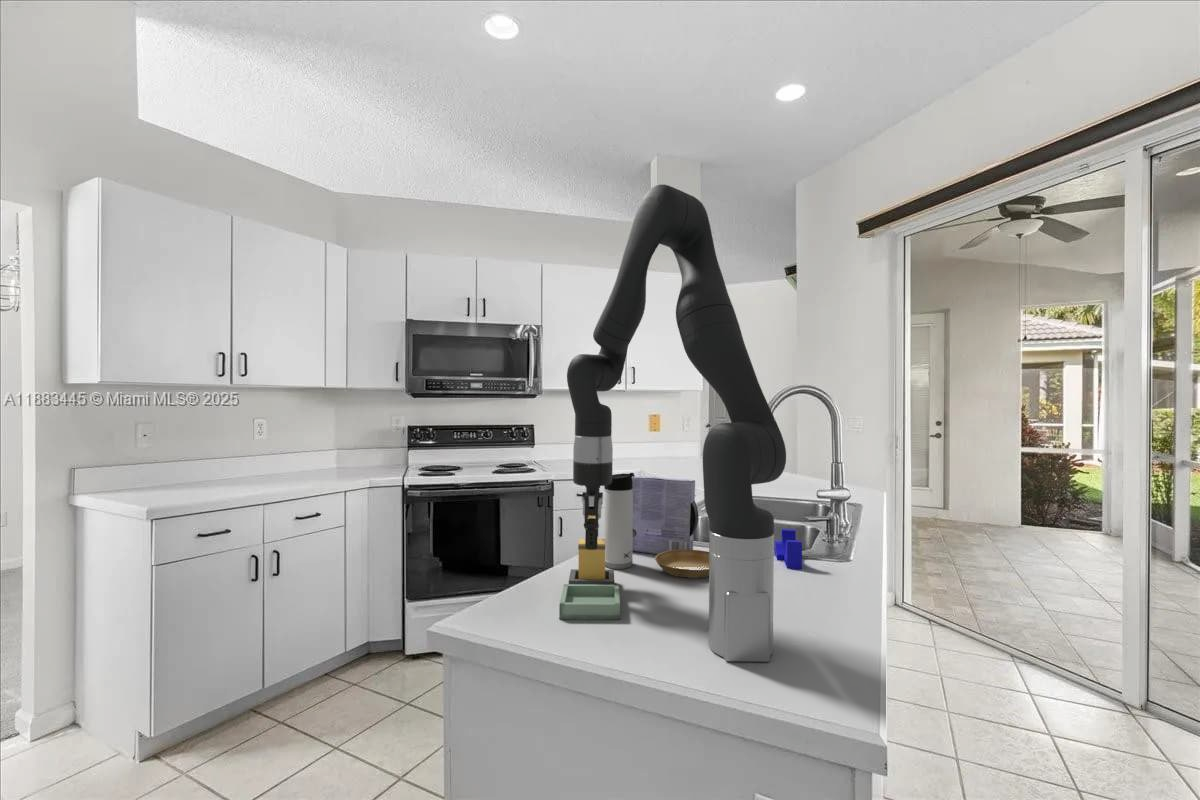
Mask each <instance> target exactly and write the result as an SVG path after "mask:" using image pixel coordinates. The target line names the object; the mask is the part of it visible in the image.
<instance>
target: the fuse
mask: <svg viewBox="0 0 1200 800" xmlns="http://www.w3.org/2000/svg"><path fill="white" fill-rule="evenodd" d="M577 549H578V569H579V579H605V570H606V566H605V539H604V538H603V539H602V538H601V539H600V538H597V549H596V550H587V549H586V548H585V538H580V539H578V547H577Z"/></svg>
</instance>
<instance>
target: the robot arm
mask: <svg viewBox="0 0 1200 800" xmlns="http://www.w3.org/2000/svg"><path fill="white" fill-rule="evenodd" d="M638 205H639V206H638V208H637V210H636V213H635V215H634V219H633V222H632V225H631V229H630V233H629V236H628V240H627V242H626V244H625V245H626V246H625V247H624V248H625V249H624V251H623V255H622V259H621V263H620V266H619V270H618V272H617V276H616V279H615V282H614V285H613V288H612V289H611V293H610V295H609V297H608V299H607V302H606V304H605V305H604V308H603V310H602V313H601V314H600V317H599V318H598V321H597V323H596V326H595V327H594V330H593V333H592V334H593V335H592V336H593V340H594V341H595V343H596V344H597V345H598V346H600V350H599V352H598V354H590V353H583V354H580V353H579V354H577V355H575V356H574V357H573V358H572V359H571V361H570V363H569V364H568V366H567V371H566V372H567V373H566V382H567V387H568V390H569V395H570V399H571V403H572V408H573V411H574V440H573V441H574V442H573V451H572V452H573V453H572V454H573V457H572V458H573V459H572V460H573V462H572V463H573V465H572V468H573V469H572V470H573V471H572V472H573V474H572V482H573V483H574V484H575V485H577V486H584V487H585V489H586V490H585V491H583V492H582V495H581V504H582V518H583V519H584V523H583V527H584V530H585V538H584V539H585V548H586V549H587V550H596V549H597V539H598V537H599V528H600V523H599V520H600V519H601V518H602V507H603V506H602V505H604V491H603V492H601V491H600V489H601V486H602V487H604V486H606V485H609V484H611V483H612V475H613V461H614V459H613V458H614V457H613V455H614V453H613V451H614V450H613V449H614V448H613V437H612V433H613V432H612V429H613V427H612V425H613V423H612V420H613V417H612V410H611V407H610V406H608V405H605V404H603V403H601V402H600V400H599V397H598V396H599V395H598V392H607V391H611V390H612V389H613V388H615V386H616V385H617V384H618V383H619V381H620V379H621V378H622V376H623V371H624V368H625V362H626V361H627V360H626V359H627V354H628V348H629V345H630V344H631V342H632V339H633V337H634V335H635V333H636V332H637V329H638V327H639V325H640V323H641V321H642V319H643V317H644V314H645V309H646V301H647V277H648V276H647V274H648V269H649V265H650V262H651V259H652V258H653V255H654V253H655V252H656V250H657V248H658V246H659V245H661V246H665V247H667V248H670V249H671V251H672V252H673V254H674V257H675V259H676V261H677V264H678V267H679V271H680V276H681V285H680V286H681V287H680V290H679V293H678V297H677V303H676V306H675V319H676V325H677V329H678V332H679V335H680V339H681V342H682V346H683V349H684V351H685V354H686V356H687V358H688V359H689V361H690V362H691V364H692V365H693V367H694V368H695V369H696V370H697V372H699V374H700V375H701V376H702V377H703V379H704V380H705V381H706V382H707V383H708V384H709V385H710V386H711V388H713V390H714V391H715V392H716V394H717V395H718V396H719V399H721V402H722V403H723V404H724V407H725V409H726V411H727V414H728V415H727V416H728V417H729V420H730V422H723V423H722V422H721V423H719V424H716V425H714V426H713V427H712V428H710V430H709V431H708V433H707V434H706V437H705V439H704V443H703V448H702V473H703V474H702V475H703V476H702V477H703V479H702V480H703V493H704V494H703V499H704V507H705V510H706V514H707V517H708V520H709V521H708V522H709V523H708V524H709V530H708V532H709V533H708V535H709V545H708V546H709V548H708V550H709V551H708V552H709V577H708V648H709V649H710V650H711V651H712V652H713V653H714V654H716V655H717V656H720V657H723V659H724V660H725V661H726V662H765V663H766V662H771V656H772V655H773V653H774V575H775V574H774V570H775V569H774V562H775V561H774V559H775V558H774V557H775V520H774V519H775V518H774V515H773V514H772V512H770V511H769V510H766V509H764V508H761V507H758V506H757V505H756V504H755V502H754V498H753V485H759V484H766V483H771V482H774V481H776V480H777V479H779V478H780V476H781V475H782V474H783V472H784V471H785V468H786V464H787V450H786V444H785V441H784V437H783V434H782V432H781V429H780V427H779V425H778V422H777V421H776V419H775V416H774V414H773V411H772V409H771V407H770V406H769V404H768V403H769V402H768V401H767V398H766V397H765V395H764V392H763V390H762V388H761V386H760V382H759V380H758V377H757V374H756V372H755V369H754V366H753V364H752V361H751V358H750V354H749V353H748V349H747V347H746V343H745V341H744V337H743V333H742V331H741V327H740V324H739V320H738V317H737V314H736V311H735V308H734V306H733V303H732V301H731V299H730V295H729V292H728V289H727V286H726V282H725V280H724V276H723V273H722V270H721V267H720V263H719V261H718V256H717V253H716V249H715V244H714V238H713V233H712V229H711V225H710V219H709V216H708V213H707V210H706V207H705V206H704V204H703V203H702V202H701V200H699V199H698V198H697V197H695V196H694V195H691V194H688V193H687V192H685V191H683V190H680V189H678V188H676V187H673V186H670V185H669V184H657V185H654V186H653V187H651V188H650V189H649V190H648V191H647V192H646V193H645V195H644V196H643V198H642V199H641V201H640V203H639V204H638Z"/></svg>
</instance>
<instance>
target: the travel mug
mask: <svg viewBox="0 0 1200 800" xmlns="http://www.w3.org/2000/svg"><path fill="white" fill-rule="evenodd" d="M634 475H635V473H634V472H628V473H616V474H615V473H614V474H612V483H611V484H609V485H606V486H603V487H604V488H603V539H605V568H608V569H611V570H625V569H628V568H631V567H632V566H633V562H634V561H633V553H634V551H633V492H632V491H633V486H632V484H633V482H632V476H633V477H634Z"/></svg>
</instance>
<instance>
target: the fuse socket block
mask: <svg viewBox="0 0 1200 800" xmlns="http://www.w3.org/2000/svg"><path fill="white" fill-rule="evenodd" d="M568 584H596V585H615V569H605V579H579V568H577V569H570V572H569V577H568Z"/></svg>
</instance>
